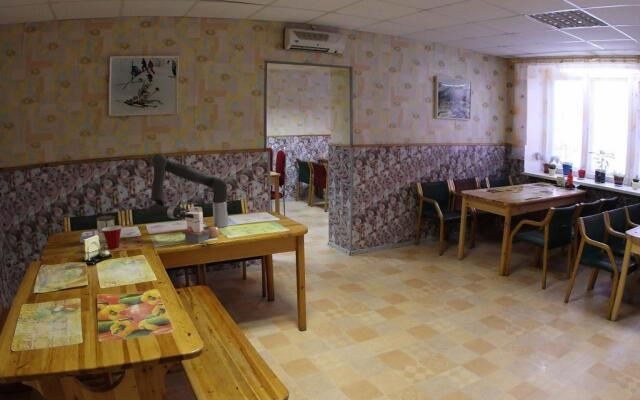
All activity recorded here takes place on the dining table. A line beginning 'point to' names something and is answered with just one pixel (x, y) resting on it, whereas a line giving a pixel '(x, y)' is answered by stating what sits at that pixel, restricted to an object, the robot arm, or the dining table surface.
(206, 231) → the display podium
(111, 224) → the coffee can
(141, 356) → the dining table surface
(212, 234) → the pinkish brown round piece
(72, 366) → the dining table surface
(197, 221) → the ink cartridge box
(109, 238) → the plastic cup
